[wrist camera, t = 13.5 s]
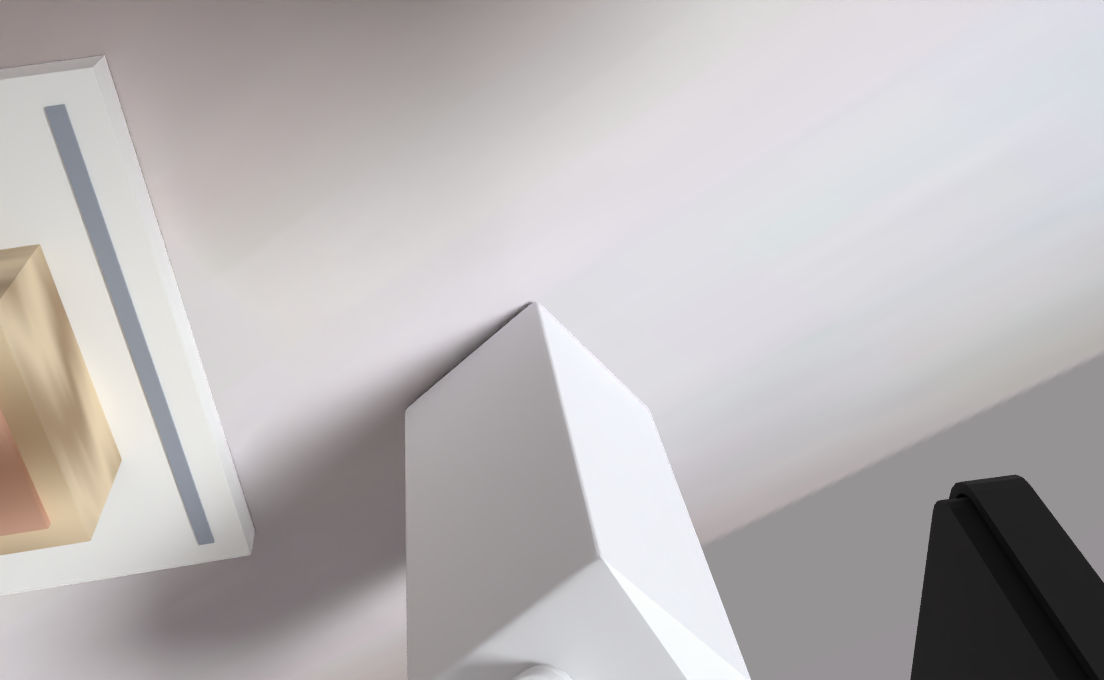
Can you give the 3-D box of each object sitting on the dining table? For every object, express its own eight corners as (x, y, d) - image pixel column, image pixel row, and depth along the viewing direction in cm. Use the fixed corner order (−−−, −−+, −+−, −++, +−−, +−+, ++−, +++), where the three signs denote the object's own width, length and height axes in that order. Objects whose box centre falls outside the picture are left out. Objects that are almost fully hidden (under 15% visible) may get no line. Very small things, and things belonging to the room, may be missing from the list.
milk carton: (649, 405, 44) (800, 806, 27) (521, 506, 45) (591, 939, 29) (535, 296, 40) (628, 673, 24) (402, 408, 42) (405, 831, 26)
